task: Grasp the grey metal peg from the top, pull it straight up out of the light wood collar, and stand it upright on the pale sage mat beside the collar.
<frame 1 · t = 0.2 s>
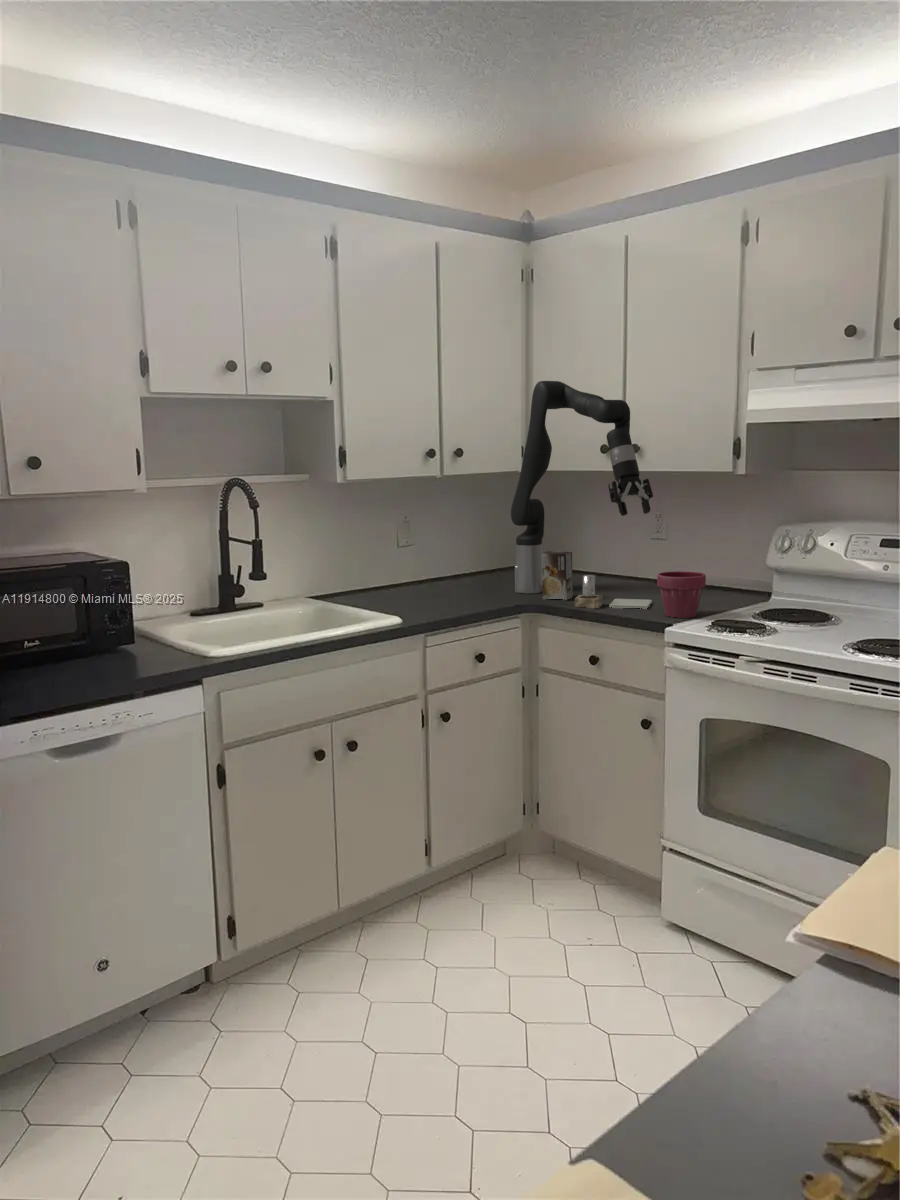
hand: (635, 514, 267), 31 cm above the countertop, tool tilted 20°, fingers open, 8 cm apart
wood collar: (588, 606, 289), on the countertop
plant pot: (680, 616, 270), on the countertop
metal peg: (588, 591, 288), in the wood collar
sage mat: (630, 605, 288), on the countertop
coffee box: (557, 599, 304), on the countertop
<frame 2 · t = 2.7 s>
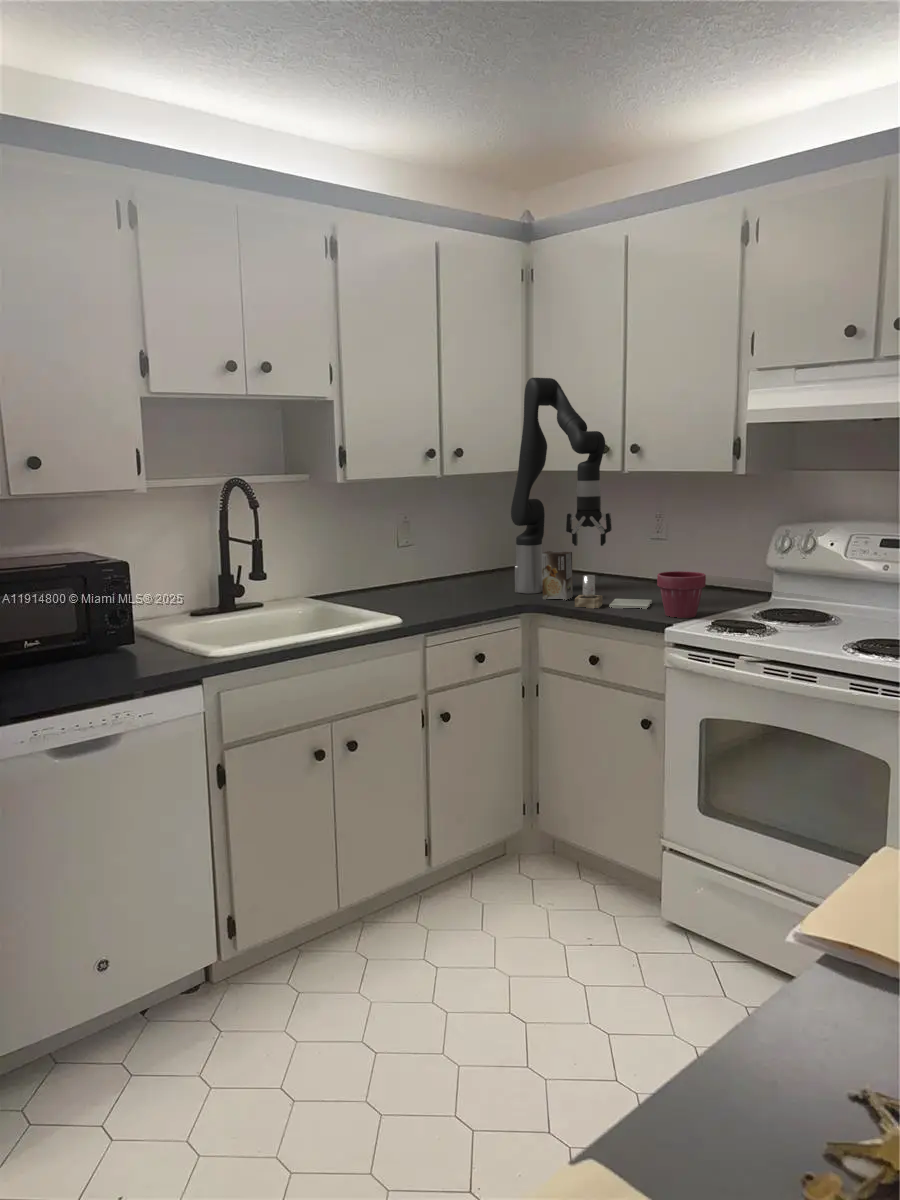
hand: (588, 545, 285), 20 cm above the countertop, tool pointing down, fingers open, 8 cm apart
nothing on the countertop moved.
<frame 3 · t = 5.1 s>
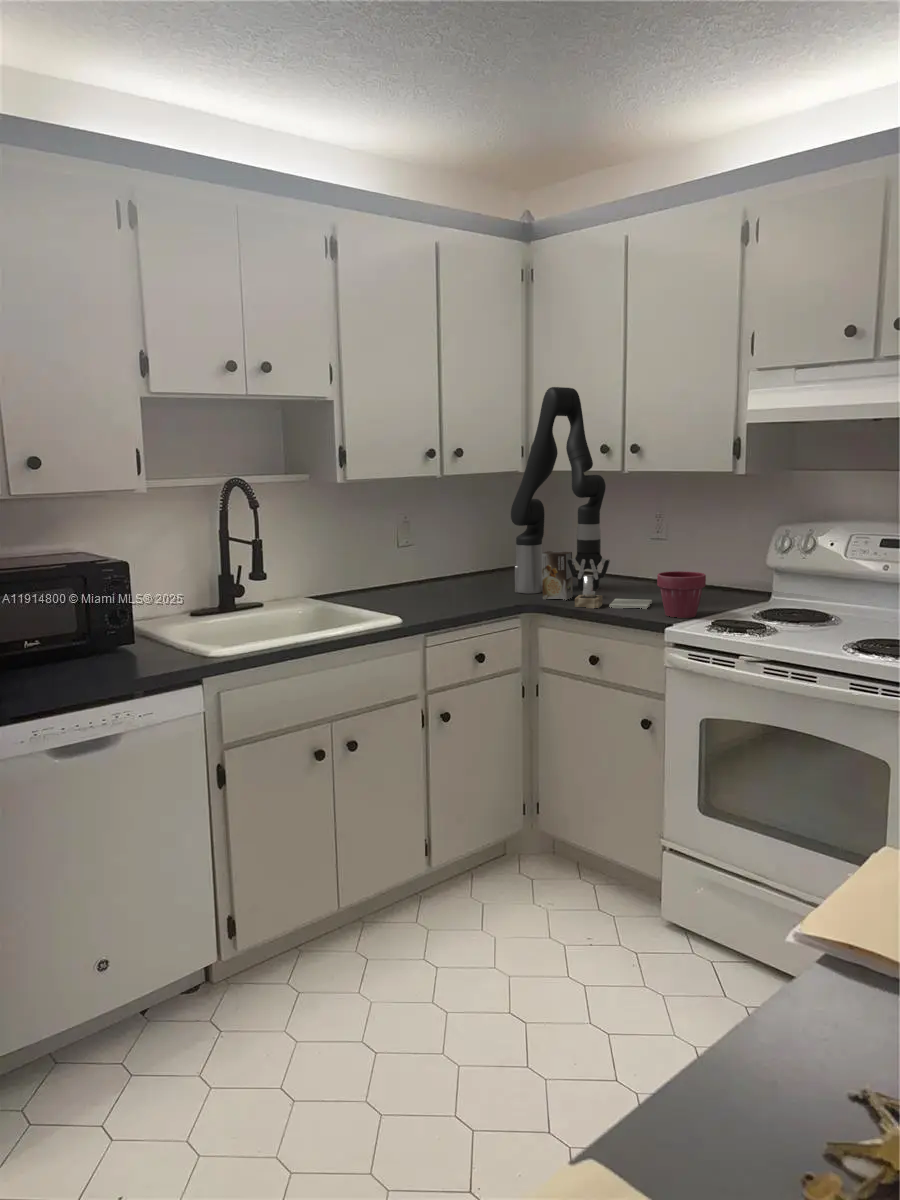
hand: (588, 590, 288), 5 cm above the countertop, tool pointing down, fingers closed on metal peg, 4 cm apart
metal peg: (588, 591, 288), in the wood collar, touching gripper
everything else where it was.
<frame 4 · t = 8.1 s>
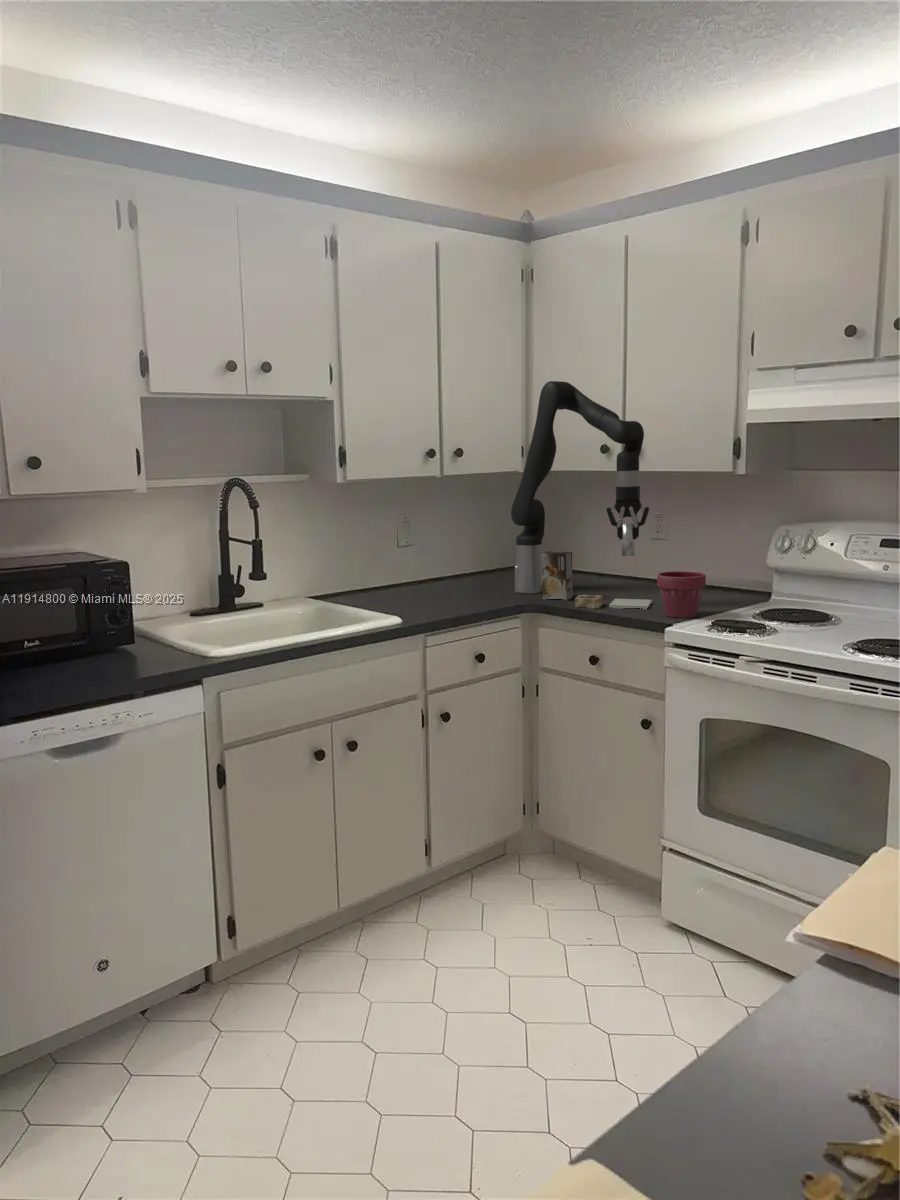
hand: (628, 538, 284), 22 cm above the countertop, tool pointing down, fingers closed on metal peg, 4 cm apart
metal peg: (628, 539, 284), point 22 cm above the countertop, touching gripper
everything else where it was.
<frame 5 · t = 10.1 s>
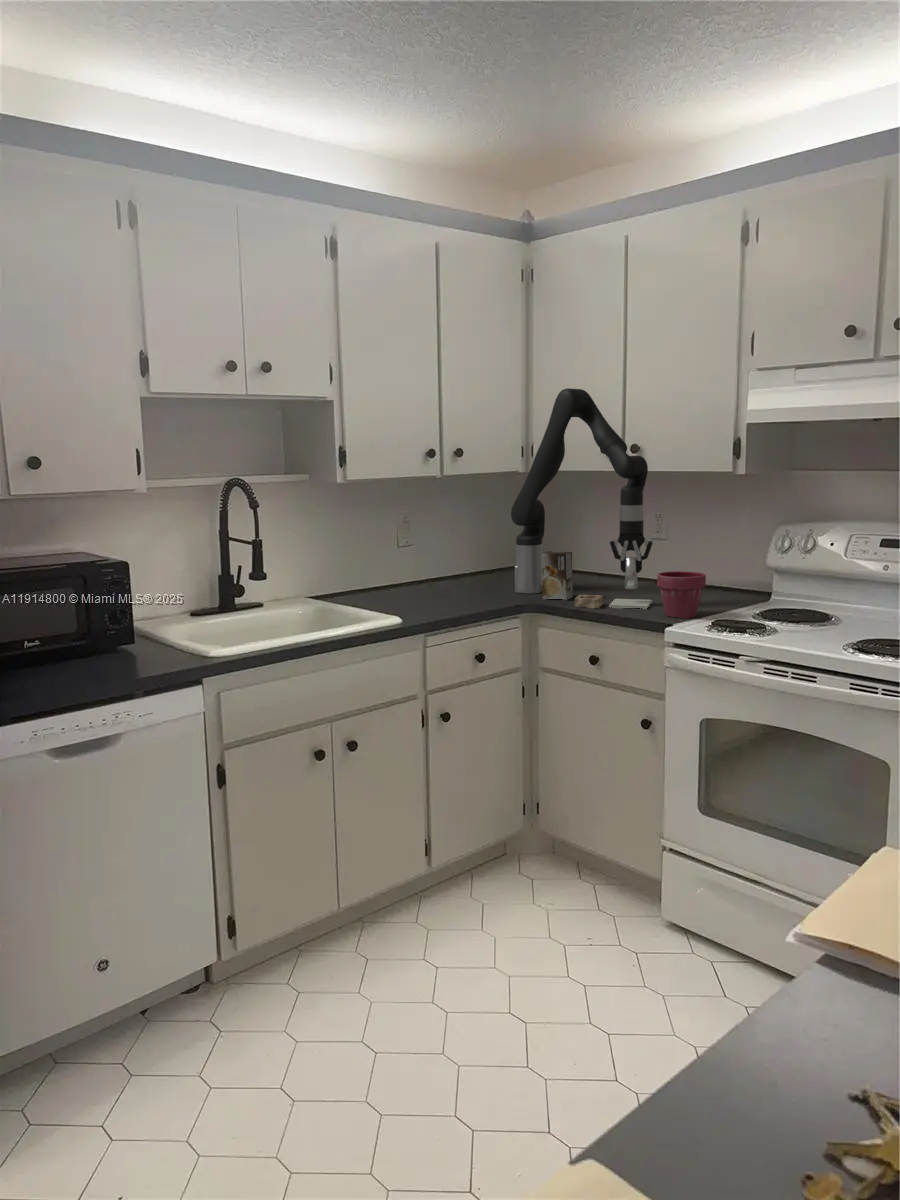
hand: (631, 571, 286), 11 cm above the countertop, tool pointing down, fingers closed on metal peg, 4 cm apart
metal peg: (631, 572, 286), point 11 cm above the countertop, touching gripper
everything else where it was.
when the fingers open (8 cm above the countertop, at t = 11.6 s): metal peg drops 1 cm, resting on sage mat.
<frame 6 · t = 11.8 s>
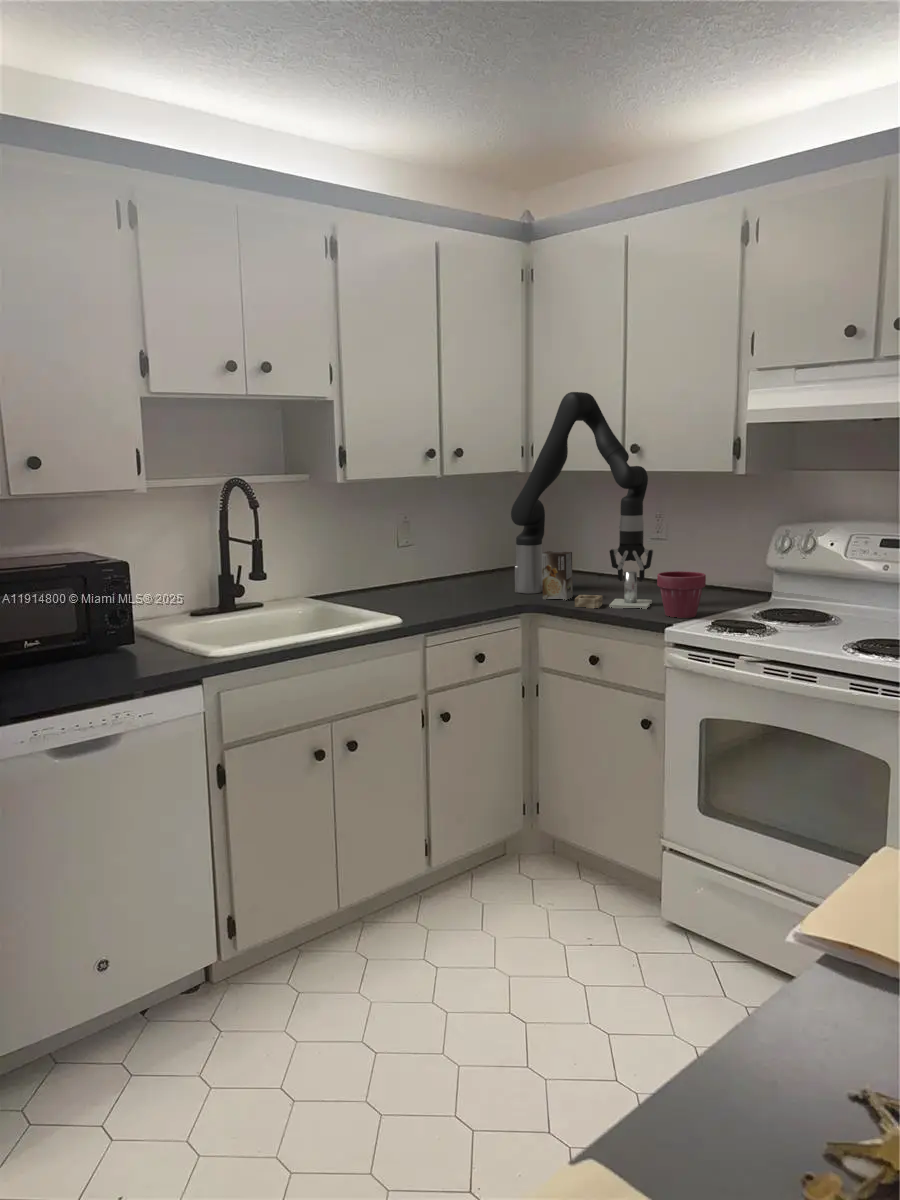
hand: (631, 581, 287), 8 cm above the countertop, tool pointing down, fingers open, 5 cm apart
metal peg: (630, 587, 287), on the sage mat, point 6 cm above the countertop
everything else where it was.
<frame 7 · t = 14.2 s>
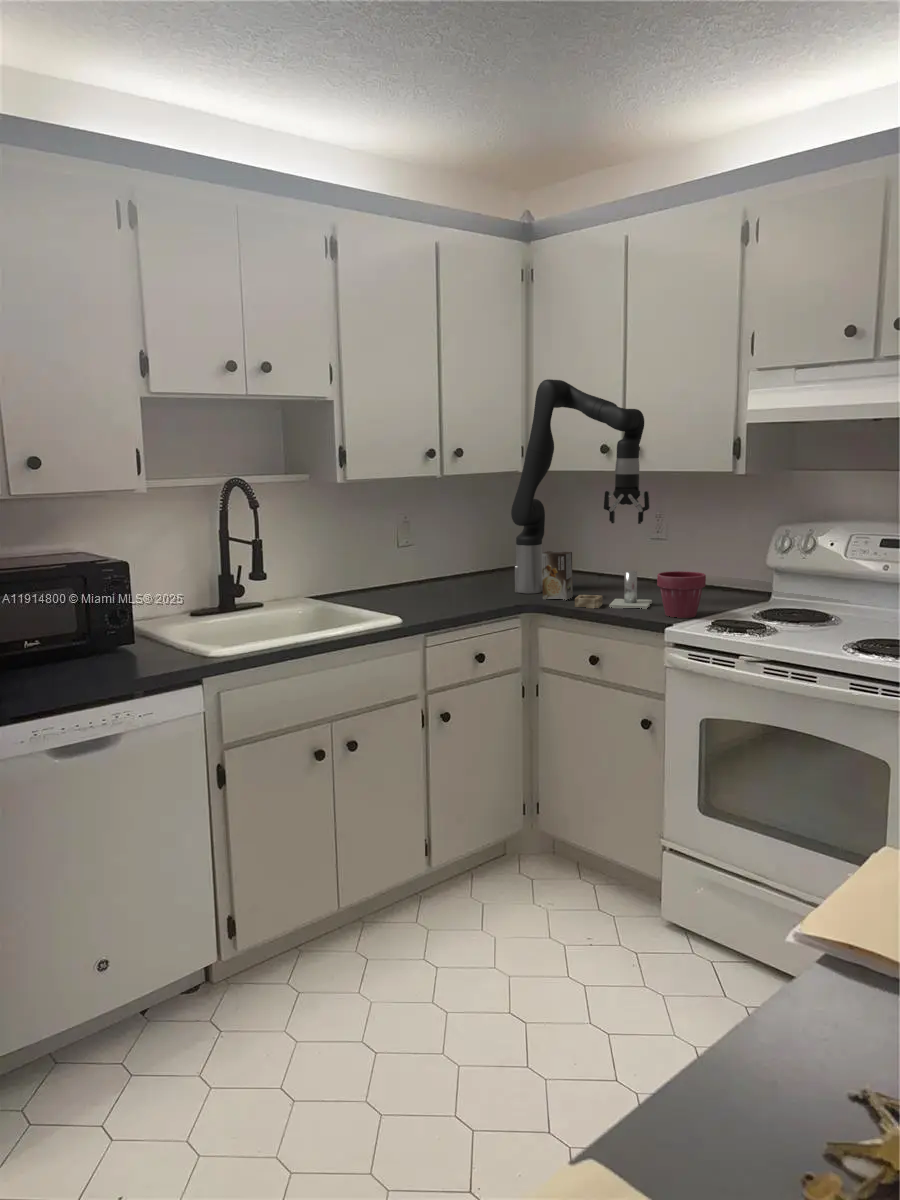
hand: (626, 523, 286), 26 cm above the countertop, tool pointing down, fingers open, 8 cm apart
nothing on the countertop moved.
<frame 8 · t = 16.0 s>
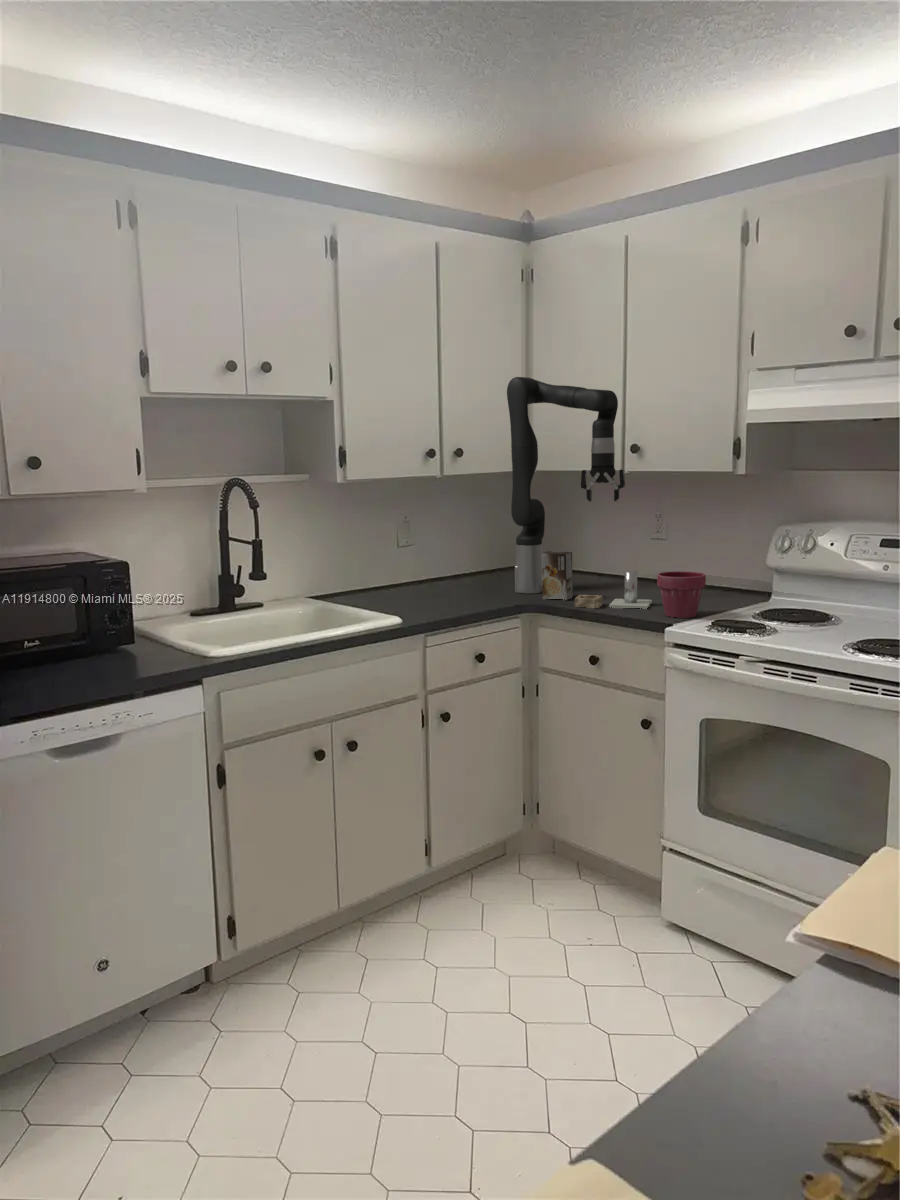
hand: (602, 501, 295), 33 cm above the countertop, tool pointing down, fingers open, 8 cm apart
nothing on the countertop moved.
at the end: metal peg inside the target area (0.1 cm from its centre), point 6.0 cm above the countertop; metal peg tilted 1°; the gripper is holding nothing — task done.
